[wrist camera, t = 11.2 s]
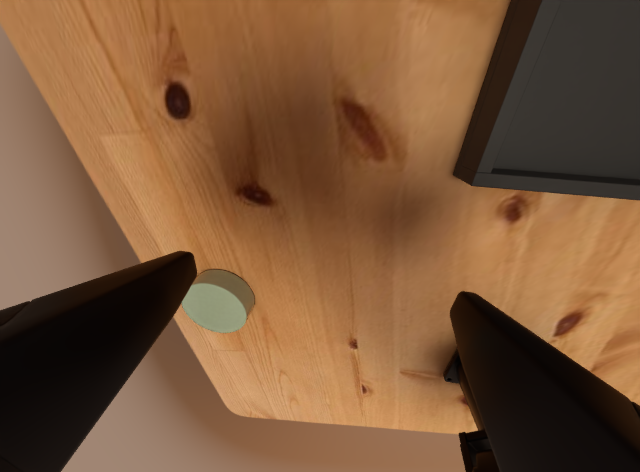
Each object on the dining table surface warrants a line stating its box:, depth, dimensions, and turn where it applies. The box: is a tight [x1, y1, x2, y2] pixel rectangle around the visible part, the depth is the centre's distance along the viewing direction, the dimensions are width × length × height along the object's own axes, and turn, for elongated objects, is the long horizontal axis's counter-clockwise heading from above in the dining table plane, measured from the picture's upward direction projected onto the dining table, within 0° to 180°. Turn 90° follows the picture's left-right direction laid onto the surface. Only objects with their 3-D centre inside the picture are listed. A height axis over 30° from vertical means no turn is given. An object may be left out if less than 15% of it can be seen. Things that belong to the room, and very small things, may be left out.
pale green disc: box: [182, 270, 255, 333], centre depth 23 cm, size 7×7×2 cm
